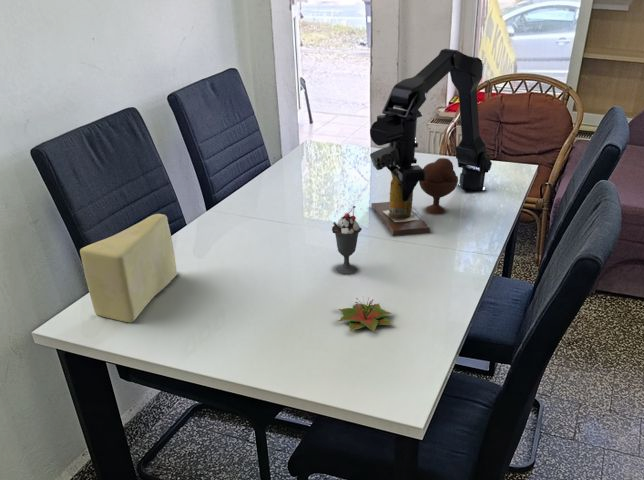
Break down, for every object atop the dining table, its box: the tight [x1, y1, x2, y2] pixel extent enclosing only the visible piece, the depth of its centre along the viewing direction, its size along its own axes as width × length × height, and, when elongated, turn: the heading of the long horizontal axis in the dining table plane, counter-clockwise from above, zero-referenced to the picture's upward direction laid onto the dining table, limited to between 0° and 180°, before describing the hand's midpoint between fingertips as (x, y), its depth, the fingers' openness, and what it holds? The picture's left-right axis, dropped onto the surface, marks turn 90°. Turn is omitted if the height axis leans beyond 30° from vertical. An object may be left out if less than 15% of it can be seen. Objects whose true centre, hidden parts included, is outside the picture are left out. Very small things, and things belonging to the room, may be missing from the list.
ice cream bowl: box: [418, 157, 459, 215], centre depth 179 cm, size 11×11×15 cm
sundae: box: [331, 205, 363, 275], centre depth 147 cm, size 7×7×15 cm
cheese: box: [79, 213, 178, 323], centre depth 134 cm, size 22×10×15 cm, turn 159°
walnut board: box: [371, 201, 431, 237], centre depth 176 cm, size 10×20×2 cm, turn 15°
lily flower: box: [337, 295, 394, 333], centre depth 130 cm, size 12×12×5 cm
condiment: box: [383, 168, 419, 222], centre depth 172 cm, size 7×8×12 cm
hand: (400, 196), depth 173 cm, fingers closed on condiment, 6 cm apart
